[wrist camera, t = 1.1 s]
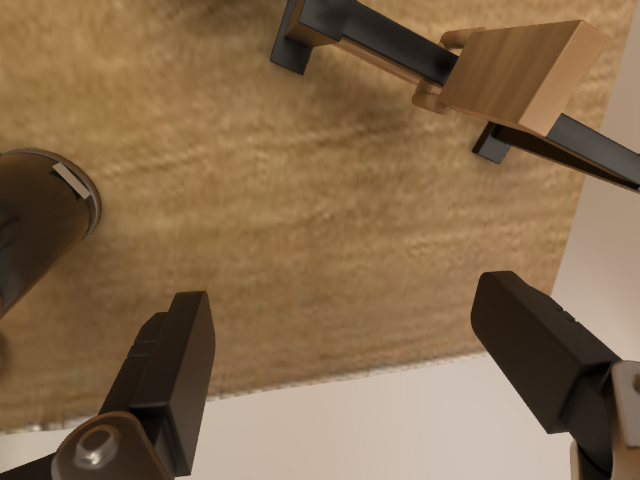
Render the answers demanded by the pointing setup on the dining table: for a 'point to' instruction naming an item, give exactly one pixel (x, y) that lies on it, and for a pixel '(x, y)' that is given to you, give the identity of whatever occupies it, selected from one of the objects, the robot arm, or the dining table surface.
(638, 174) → the rail
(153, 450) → the robot arm
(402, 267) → the dining table surface
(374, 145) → the dining table surface
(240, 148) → the dining table surface
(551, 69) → the brown flat handled piece
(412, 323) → the dining table surface
